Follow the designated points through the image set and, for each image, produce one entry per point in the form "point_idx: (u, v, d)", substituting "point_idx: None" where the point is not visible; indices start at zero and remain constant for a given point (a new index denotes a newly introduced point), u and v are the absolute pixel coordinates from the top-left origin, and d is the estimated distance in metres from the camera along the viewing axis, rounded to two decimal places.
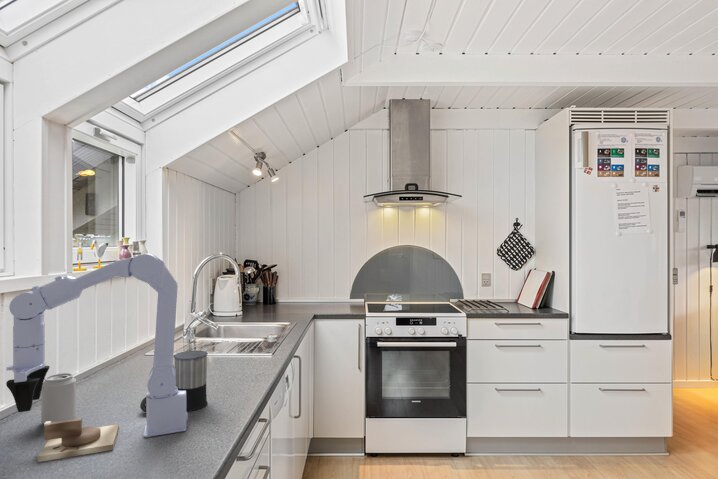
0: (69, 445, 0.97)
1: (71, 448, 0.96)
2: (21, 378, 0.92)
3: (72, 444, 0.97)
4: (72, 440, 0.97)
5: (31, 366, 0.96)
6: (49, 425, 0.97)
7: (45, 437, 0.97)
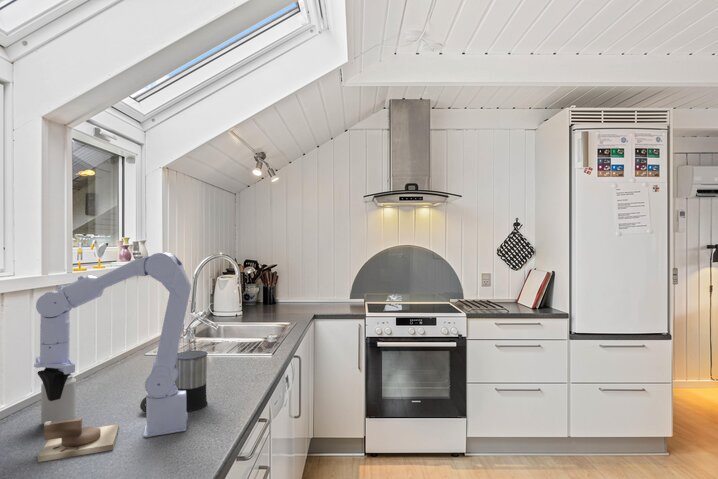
0: (69, 445, 0.97)
1: (71, 448, 0.96)
2: (71, 370, 1.00)
3: (72, 444, 0.97)
4: (72, 440, 0.97)
5: (65, 360, 1.03)
6: (49, 425, 0.97)
7: (45, 437, 0.97)
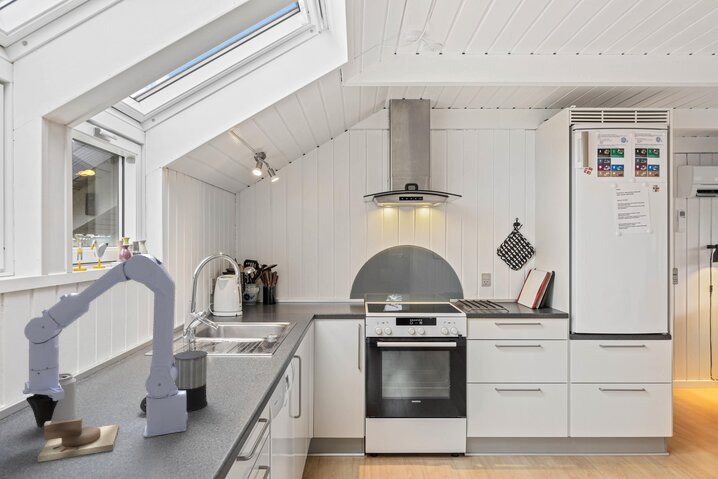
0: (69, 445, 0.97)
1: (71, 448, 0.96)
2: (61, 396, 0.98)
3: (72, 444, 0.97)
4: (72, 440, 0.97)
5: (54, 386, 1.01)
6: (49, 425, 0.97)
7: (45, 437, 0.97)
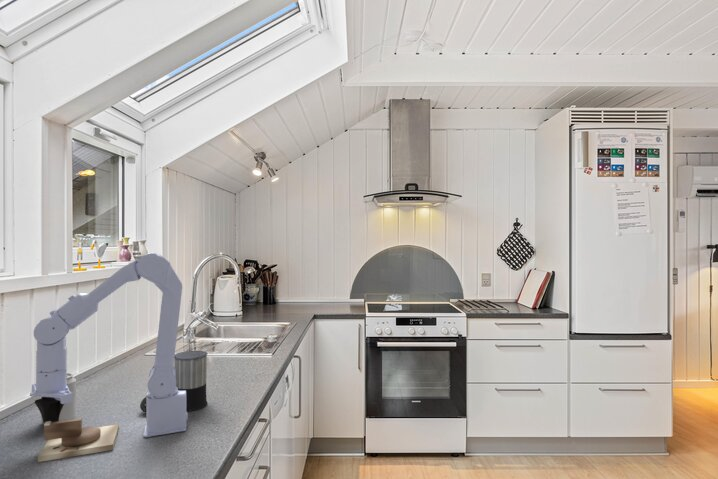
0: (69, 445, 0.97)
1: (71, 448, 0.96)
2: (68, 399, 0.96)
3: (72, 444, 0.97)
4: (72, 440, 0.97)
5: (62, 388, 0.99)
6: (49, 425, 0.97)
7: (45, 437, 0.97)
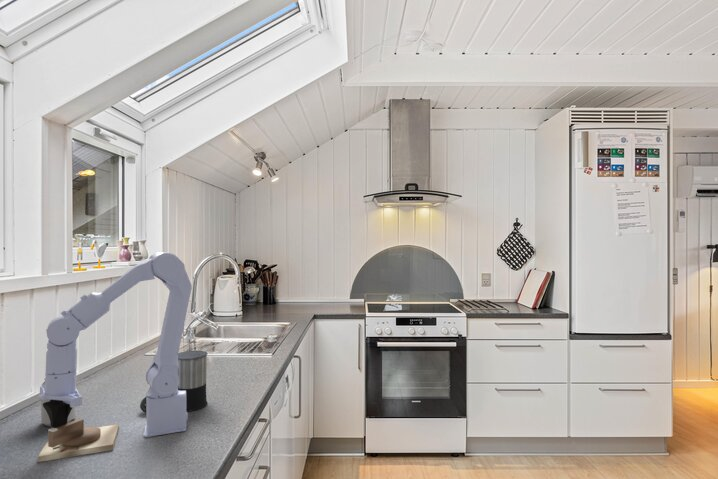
0: (84, 443, 0.98)
1: (71, 448, 0.96)
2: (78, 402, 0.94)
3: (88, 441, 0.98)
4: (86, 438, 0.98)
5: (71, 391, 0.97)
6: (57, 430, 0.95)
7: (54, 444, 0.94)
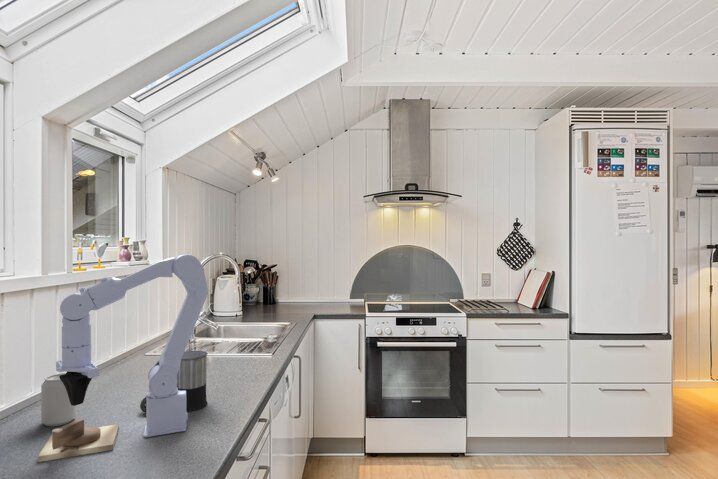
0: (88, 442, 0.98)
1: (71, 448, 0.96)
2: (95, 373, 0.98)
3: (91, 440, 0.99)
4: (89, 437, 0.99)
5: (87, 364, 1.00)
6: (61, 430, 0.94)
7: (59, 444, 0.94)
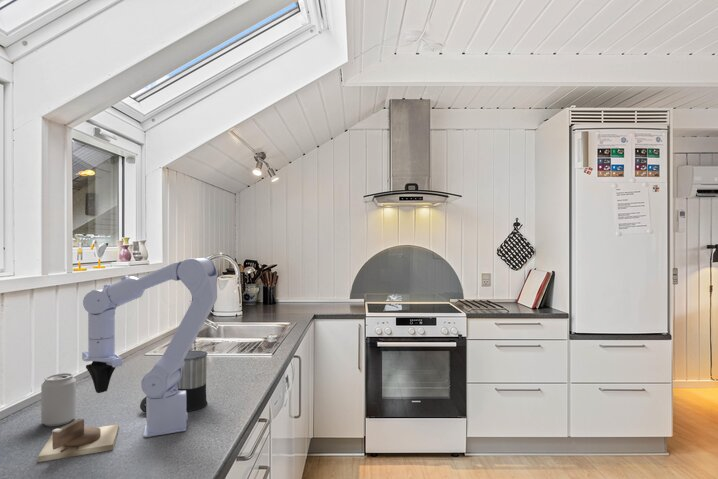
0: (88, 442, 0.98)
1: (71, 448, 0.96)
2: (119, 363, 1.06)
3: (91, 440, 0.99)
4: (89, 437, 0.99)
5: (111, 354, 1.09)
6: (61, 430, 0.94)
7: (59, 444, 0.94)
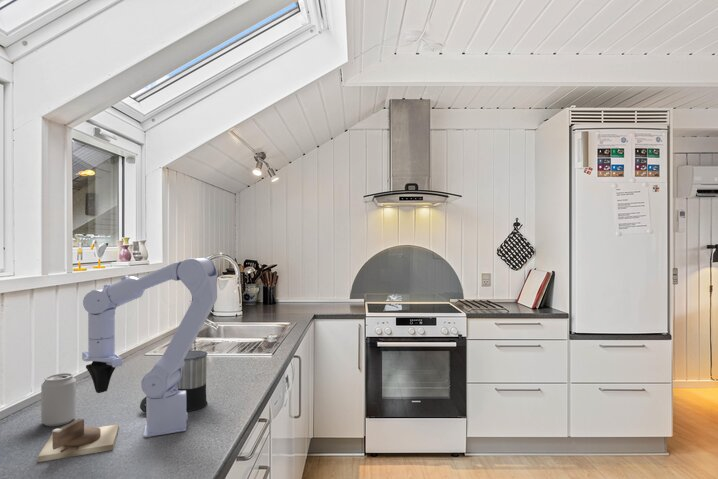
0: (88, 442, 0.98)
1: (71, 448, 0.96)
2: (119, 363, 1.06)
3: (91, 440, 0.99)
4: (89, 437, 0.99)
5: (111, 354, 1.09)
6: (61, 430, 0.94)
7: (59, 444, 0.94)
